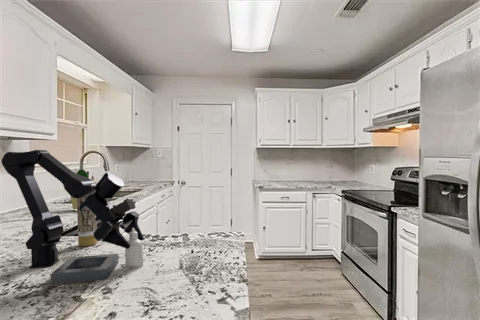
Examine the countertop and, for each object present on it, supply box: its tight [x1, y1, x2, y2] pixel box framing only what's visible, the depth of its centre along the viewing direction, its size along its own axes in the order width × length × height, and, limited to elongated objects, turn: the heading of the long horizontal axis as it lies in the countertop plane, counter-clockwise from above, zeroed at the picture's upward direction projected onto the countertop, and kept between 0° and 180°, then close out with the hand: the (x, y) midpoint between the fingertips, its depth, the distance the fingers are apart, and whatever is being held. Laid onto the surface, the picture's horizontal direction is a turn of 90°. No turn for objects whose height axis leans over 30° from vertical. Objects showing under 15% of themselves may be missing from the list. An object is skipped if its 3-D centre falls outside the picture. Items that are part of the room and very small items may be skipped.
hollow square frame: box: [50, 253, 119, 286], centre depth 91 cm, size 14×14×3 cm
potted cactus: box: [70, 169, 90, 210], centre depth 216 cm, size 15×15×30 cm
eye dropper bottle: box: [124, 228, 144, 269], centre depth 96 cm, size 4×6×12 cm
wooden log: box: [76, 191, 98, 248], centre depth 123 cm, size 7×7×25 cm
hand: (136, 243), depth 96 cm, fingers open, 9 cm apart
